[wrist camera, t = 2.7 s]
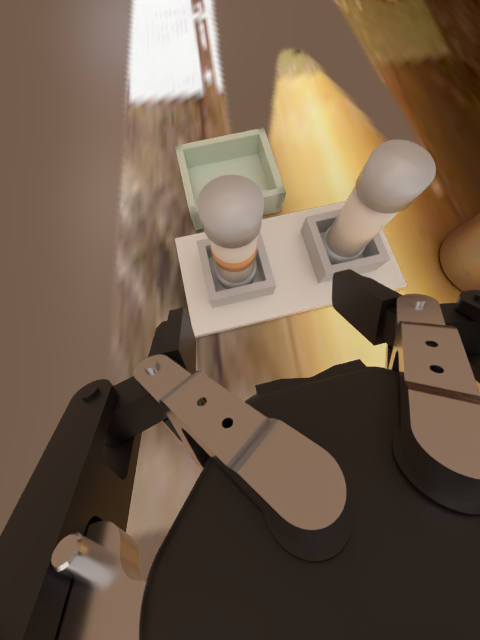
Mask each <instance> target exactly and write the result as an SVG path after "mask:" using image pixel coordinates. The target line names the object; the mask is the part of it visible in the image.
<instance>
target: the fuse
mask: <svg viewBox="0 0 480 640" xmlns="http://www.w3.org/2000/svg"><path fill="white" fill-rule="evenodd" d="M435 173H436V167H435V163H434V160H433V158H432V157H431V155H430V154H429V153H428V152H427V151H426V150H425V149H424V148H423V147H421V146H420V145H418V144H416V143H413V142H411V141H407V140H390V141H386V142H384V143H382V144H380V145H379V146H377V147H376V148H375V149H374V151H373V152H372V154H371V155H370V157H369V159H368V161H367V162H366V164H365V166H364V167H363V169H362V171H361V173H360V174H359V176H358V178H357V180H356V186H355V188H354V189H353V191H352V193H351V194H350V196H349V198H348V199H347V201H346V203H345V204H344V206H343V208H342V209H341V211H340V213H339V214H338V216H337V218H336V219H335V221H334V223H333V224H332V225H331V226H330V227H329V228H328V229H327V231H326V232H325V234H324V236H323V237H322V241H323V244H324V246H325V249H326V252H327V255H328V258H329V260H330V263H331V265H335V264H339V263H343V262H348V261H352V260H355V259H356V258H357V257H358V256H359V255H360V254H361V253H362V252H363V251H364V249H365V246H366V245H367V244H368V243H369V242H370V241H371V240H372V239H373V238H374V237H375V236H376V235H377V234H378V233H379V232H380V231H381V230H382V229H383V228H384V227H385V226H386V225H387V224H388V223H389V222H390V221H391V220H392V219H393V217H394V216H395V215H396V214H397V213H398V212H400V211H402V210H404V209H405V208H407V207H408V206H409V205H410V204H411V203H412V202H413V201H414V200H415V199H416V198H417V197H418V196H419V195H420V194H421V193H422V192H423V191H424V190H425V189H426V188H427V187H428V186H429V185H430V184H431V182H432V181H433V179H434V177H435Z"/></svg>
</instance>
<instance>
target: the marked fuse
mask: <svg viewBox="0 0 480 640" xmlns="http://www.w3.org/2000/svg"><path fill="white" fill-rule="evenodd" d="M263 209H264V197H263V194H262V192H261V190H260V188H259V187H258V186H257V185H256V184H255V183H254V182H253V181H252V180H250V179H248V178H246V177H243V176H240V175H223V176H220V177H217V178H215V179H213V180H211V181H210V182H208V183H207V184H206V185H205V186H204V187H203V189H202V190H201V192H200V194H199V197H198V211H199V214H200V218H201V222H202V225H203V229H204V232H205V234H206V236H207V237H208V238H209V241H210V248H211V251H212V255H213V259H214V261H215V264H214V268H215V272H216V276H217V279H218V281H219V283H220V285H221V286H222V287H224V288H225V289H230V288H235V287H239V286H243V285H248V284H252V283H253V281H254V279H255V274H256V260H255V258H256V252H257V243H258V242H257V238H258V234H259V232H260V229H261V225H262V217H263Z"/></svg>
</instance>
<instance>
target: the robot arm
mask: <svg viewBox="0 0 480 640" xmlns="http://www.w3.org/2000/svg"><path fill="white" fill-rule="evenodd" d="M440 263H441V266H442V268H443V271H444V272H445V274H446V276H447V277H448V279H449V280H450V281H451V282H452V283H453V284H454V285H455V286H456V287H458V288H459V289H460V290H462V291H463V292H462V293H461V294H460V296H459V298H458V301H457V303H447V304H439V302H438V301H437V300H436V299H434V298H432V297H429V296H426V295H421V294H406V295H401V294H399V293H397V292H395V291H394V290H392V289H390V288H388V287H386V286H384V285H383V284H381V283H378V282H377V281H375V280H374V279H372V278H369V277H365V276H362V275H360V274H358V273H356V272H355V271H353V270H351V269H347V270H343V271H338V272H335V273H334V274H333V281H332V304H333V307H334V309H335V310H336V311H337V312H338V313H339V314H341V315H342V316H343V317H344V318H345V319H346V320H347V321H348V322H349V323H350V324H351V325H352V326H354V327H355V328H356V329H357V330H358V331H359V332H360V333H361V334H362V335H363V336H364V337H365V338H367V339H368V340H369V341H370V342H371V343H372V344H373V345H378V344H382V343H387V347H386V365H385V368H381V367H366V366H365V365H364V364H363V362H362V361H361V360H360V359H359V360H355V361H351V362H347V363H343V364H339V365H335V366H333V367H331V368H329V369H327V370H325V371H323V372H321V373H319V374H317V375H315V376H313V377H310V378H293V379H279V380H275V381H271V382H267V383H263V384H259V385H255V387H256V392H257V394H256V395H254V396H252V397H251V398H249V399H248V400H246V401H245V402H244V401H242V400H241V399H239V398H238V397H236V396H235V395H233V394H232V393H231V392H229V391H228V390H226V389H225V388H223V387H222V386H220V385H219V384H217V383H216V382H215V381H213V380H212V379H210V378H209V377H207V376H206V375H204V374H203V373H201V372H200V371H196V340H195V335H194V332H193V329H192V326H191V323H190V320H189V317H188V315H187V312H186V309H185V308H184V307H183V308H179V309H175V310H170V311H169V316H168V320H167V321H164V322H162V323H161V324H160V325H159V326H158V327H157V328H156V331H155V336H154V338H153V342H152V345H151V349H150V352H149V356H148V358H146V359H144V360H143V361H141V362H140V363H139V364H138V365H137V366H136V368H135V370H134V372H133V375H134V376H133V377H131V378H129V379H127V380H125V381H123V382H121V383H119V384H116V385H114V386H113V385H112V384H111V382H110V381H109V380H106V379H101V380H96V381H93V382H91V383H89V384H87V385H86V386H84V387H83V388H81V389H80V390H79V391H78V392H77V393H76V394H75V395H74V396H73V398H72V399H71V401H70V403H69V405H68V407H67V408H66V410H65V413H64V414H63V416H62V418H61V420H60V422H59V424H58V426H57V428H56V430H55V432H54V434H53V436H52V437H51V439H50V441H49V443H48V445H47V447H46V450H45V451H44V453H43V455H42V457H41V459H40V461H39V463H38V465H37V466H36V469H35V470H34V473H33V474H32V476H31V478H30V480H29V482H28V484H27V486H26V488H25V490H24V492H23V493H22V495H21V498H20V499H19V501H18V503H17V505H16V507H15V509H14V511H13V513H12V515H11V517H10V519H9V521H8V522H7V525H6V526H5V528H4V530H3V532H2V534H1V536H0V640H480V392H479V389H478V386H477V384H476V381H478V382H479V383H480V213H479V214H478V215H476V216H475V217H473V218H472V219H470V220H469V221H468V222H466V223H465V224H463V225H462V226H460V227H459V228H457V229H456V230H454V231H453V232H451V233H450V234H449V235H448V236H447V237H446V238H445V239H444V241H443V242H442V245H441V248H440ZM475 380H476V381H475ZM159 422H162V423H163V424H164V425H165V426H166V427H167V429H168V430H169V431H170V432H171V433H172V434H173V435H174V436H175V438H176V439H177V440H178V441H179V442H180V443H181V444H182V446H183V447H184V448H185V449H186V450H187V452H188V453H189V454H190V456H191V457H192V459H193V460H194V461H195V463H196V464H197V465H198V466H199V468H200V469H201V470H202V472H201V474H200V476H199V478H198V479H197V481H196V483H195V485H194V487H193V488H192V490H191V492H190V494H189V496H188V498H187V499H186V501H185V503H184V505H183V507H182V508H181V510H180V512H179V514H178V516H177V517H176V519H175V521H174V523H173V525H172V527H171V528H170V530H169V532H168V534H167V536H166V537H165V539H164V541H163V543H162V545H161V547H160V548H159V550H158V552H157V554H156V557H155V559H154V561H153V564H152V566H151V569H150V572H149V575H148V578H147V580H146V581H143V580H142V578H141V574H140V569H139V549H138V545H137V543H136V541H135V540H134V539H133V538H132V537H131V536H130V535H128V534H127V533H126V527H127V521H128V515H129V508H130V502H131V496H132V490H133V484H134V477H135V471H136V465H137V459H138V453H139V447H140V440H141V434H142V432H143V431H144V430H146V429H148V428H150V427H152V426H153V425H155V424H157V423H159Z"/></svg>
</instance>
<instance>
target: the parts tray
mask: <svg viewBox="0 0 480 640" xmlns="http://www.w3.org/2000/svg"><path fill="white" fill-rule="evenodd" d="M175 148H176V153H177V157H178V162H179V167H180V171H181V176H182V180H183V185H184V190H185V194H186V199H187V203H188V208H189V213H190V216H191V219H192V222H193V225H194V228H195V230H200V229H203V225H202V222H201V218H200V214H199V211H198V197H199V194H200V192H201V190H202V189H203V187H204V186H205V185H206V184H207V183H208V182H210V181H211V180H213V179H215V178H217V177H220V176H223V175H240V176H243V177H246V178H248V179H250V180H252V181H253V182H254V183H255V184H256V185H257V186H258V187H259V188H260V190H261V192H262V194H263V197H264V209H263V216H264V215H268V214H273V213H277V212H281V211H282V206H283V202H284V198H285V194H286V192H285V189H284V186H283V183H282V180H281V177H280V174H279V171H278V168H277V165H276V162H275V159H274V156H273V153H272V150H271V147H270V144H269V141H268V138H267V135H266V132H265V130H264V128H261V129H255V130H251V131H246V132H241V133H236V134H231V135H226V136H221V137H216V138H211V139H206V140H201V141H196V142H191V143H186V144H182V145H177V146H175Z"/></svg>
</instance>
